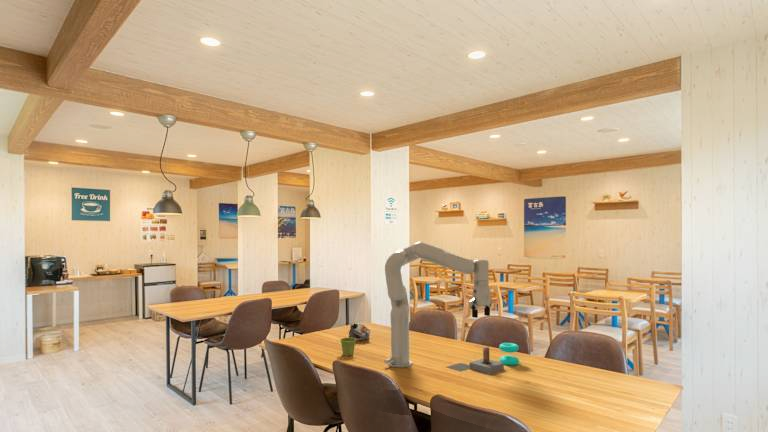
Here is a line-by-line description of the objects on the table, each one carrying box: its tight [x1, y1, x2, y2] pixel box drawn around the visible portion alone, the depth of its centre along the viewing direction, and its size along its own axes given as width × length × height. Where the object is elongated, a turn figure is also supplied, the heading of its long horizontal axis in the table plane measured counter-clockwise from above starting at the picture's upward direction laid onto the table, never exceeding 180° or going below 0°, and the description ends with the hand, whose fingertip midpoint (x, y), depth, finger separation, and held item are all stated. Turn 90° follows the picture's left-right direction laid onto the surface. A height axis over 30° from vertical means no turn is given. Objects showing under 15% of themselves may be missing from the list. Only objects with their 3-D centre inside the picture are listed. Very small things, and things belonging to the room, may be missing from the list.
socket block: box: [469, 358, 505, 375], centre depth 222 cm, size 12×12×4 cm
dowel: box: [482, 346, 491, 365], centre depth 222 cm, size 3×3×11 cm
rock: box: [348, 322, 371, 342], centre depth 292 cm, size 15×12×14 cm
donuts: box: [498, 342, 520, 367], centre depth 233 cm, size 10×10×10 cm
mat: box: [445, 362, 471, 373], centre depth 226 cm, size 12×10×1 cm
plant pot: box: [339, 337, 357, 357], centre depth 254 cm, size 9×9×9 cm
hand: (481, 316), depth 230 cm, fingers open, 9 cm apart
